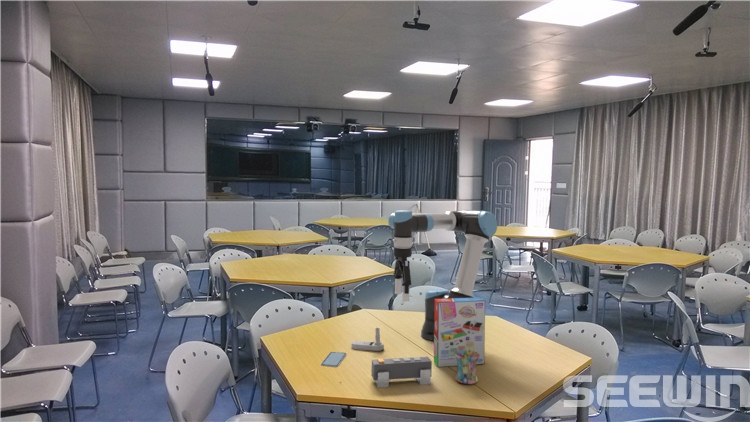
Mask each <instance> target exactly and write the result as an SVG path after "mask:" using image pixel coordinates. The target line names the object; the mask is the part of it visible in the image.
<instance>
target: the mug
mask: <svg viewBox="0 0 750 422" xmlns="http://www.w3.org/2000/svg"><path fill="white" fill-rule="evenodd" d="M455 356H456V359H457V364H458V366H457V372H456V374H455V377H454V379H455V381H457V382H458V383H460V384H463V385H474V384H476V383H477V382H478V381H479V378H478V377H477V365H478V364H477V361H478V358H479V356H480V355H479V353H477V352H475V351H472V350H458V351H456V352H455Z"/></svg>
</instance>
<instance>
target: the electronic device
mask: <svg viewBox="0 0 750 422" xmlns="http://www.w3.org/2000/svg"><path fill="white" fill-rule="evenodd" d="M380 330H381V329H380V327H376V328H375V341H369V340H368V341H366V340H354V341H352V342H351V349H354V350H360V351H361V350H362V351H363V350H364V351H375V352H379V351H383V350H385V344H384V343H383V342H381V335H380V333H381V332H380Z"/></svg>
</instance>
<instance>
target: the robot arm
mask: <svg viewBox="0 0 750 422" xmlns="http://www.w3.org/2000/svg"><path fill="white" fill-rule="evenodd" d="M388 225H389V227H390V228H391V229H393V238H394V239H392V242H393V246H394V247H393V256H394V257H395V264H394V272H393V276H394V295H399V294H400V295H402V296H401V298H402V299H401V300H402V302H410V289H411V288H410V286H411V285H412V277H411V269H410V262H411V261H410V260H408V258H411V257H412V256H413V255H412V253H413V252H412V250H413V249H412V247H413V233H426V232H431V231H432V230H445V231H448V232H450V231H451V232H457V233H462V234H464V237H465V239H466V240H465V245H464V248H463V252H462V257H461V260H460V264H459V268H458V273H457V275H456V280H455V283H454V287H453V288H451V289H450V290H449V289H445V288H444V289H443V288H440V289H439V288H438V289H430V290H427V291H426V292H425V298H424V316H425V317H424V322H423V325H422V328H421V331H420V337H422V338H423V339H425V340H428V341H433V342H434V317H435V299H447V298H475V295H474V293H473V291H474V287H475V283H476V278H477V275H478V271H479V267H480V262H481V260H482V259H481V258H482V254H483V251H484V246H485V244H486V243H488V242H489V241H490V237H494V236H495V234H496V233H497V229H498V221H497V219H496V216H495V215H494V213H493V212H490V211H486V210H471V209H462V210H461V209H460V210H453V211H445V212H444V213H443V212H440V213H436V212H435V213H434V212H431V213H430V212H429V213H425V212H423V213H422V212H421V213H420V212H419V213H418V212H414V213H413V211H412V210H406V209H405V210H402V209H401V210H399V209H398V210H395V212H393V213H391V214H390V215H389V216H388Z"/></svg>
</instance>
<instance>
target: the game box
mask: <svg viewBox="0 0 750 422" xmlns="http://www.w3.org/2000/svg"><path fill="white" fill-rule="evenodd" d="M485 332H486V299H484V298H483V297H481V296H480V297H479V296H478V297H474V298H447V299H435V317H434V341H433V350H434V351H433V363H434V365H435V366H436V367H437V368H440V367H443V368H444V367H458V364H457V359H456V356H455V352H456V351H458V350H472V351H475V352H477V353H479V355H480V356H479V358H478V361H477V364H476V365H485V362H486V361H485V358H486V357H485V356H486V354H485V350H486V349H485V340H486V339H485V337H486V336H485Z"/></svg>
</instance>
